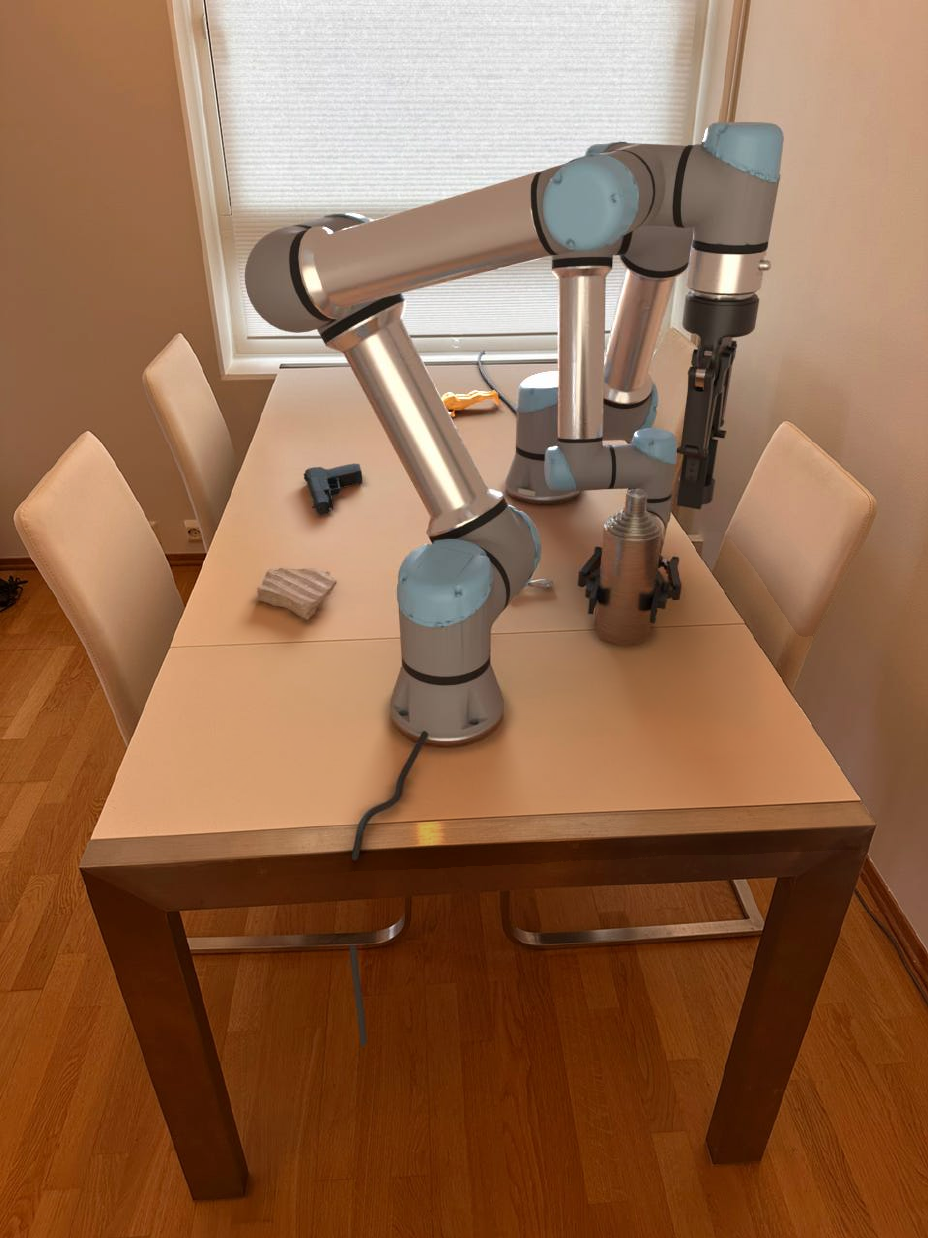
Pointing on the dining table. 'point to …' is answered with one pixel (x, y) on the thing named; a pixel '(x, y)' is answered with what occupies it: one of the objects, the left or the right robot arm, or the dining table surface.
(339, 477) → the handgun
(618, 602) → the bottle
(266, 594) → the stone
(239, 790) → the dining table surface
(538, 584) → the putty knife
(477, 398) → the human figure
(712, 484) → the cap
